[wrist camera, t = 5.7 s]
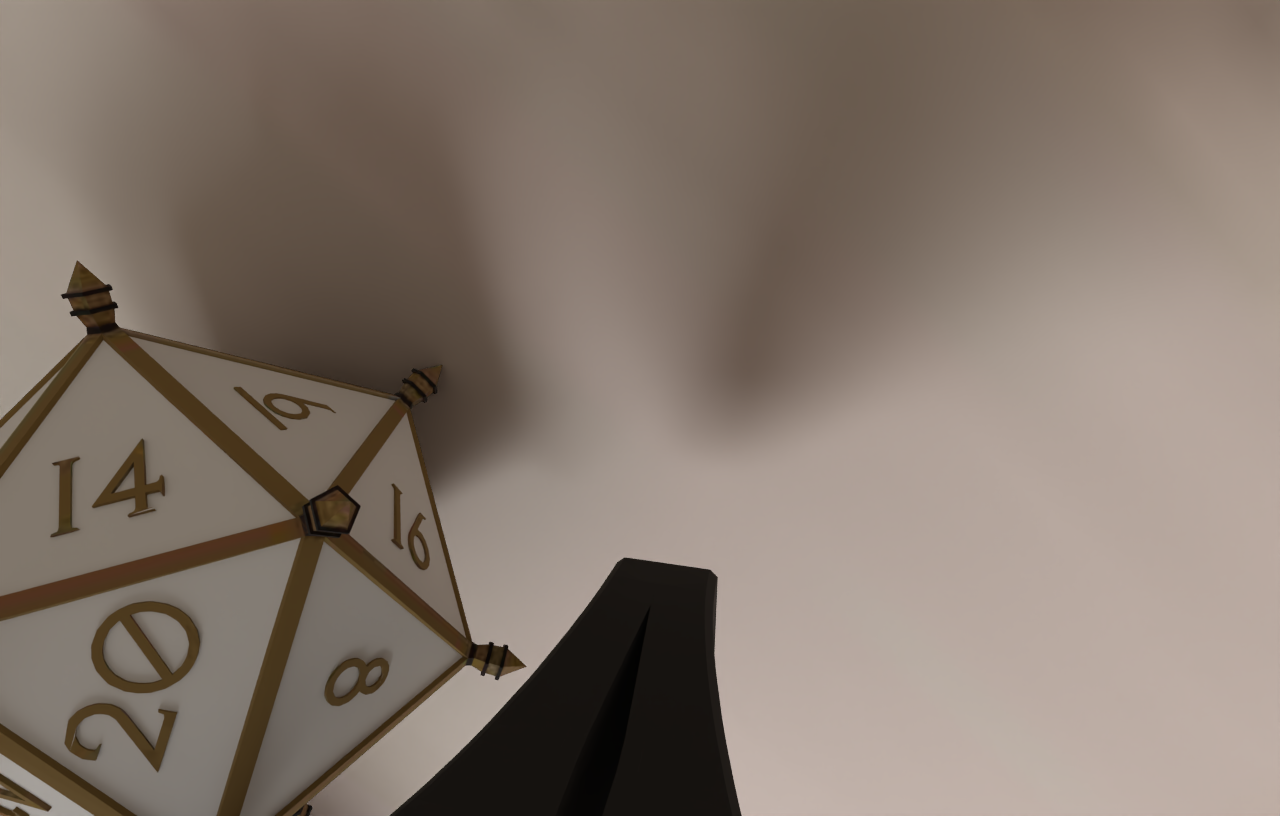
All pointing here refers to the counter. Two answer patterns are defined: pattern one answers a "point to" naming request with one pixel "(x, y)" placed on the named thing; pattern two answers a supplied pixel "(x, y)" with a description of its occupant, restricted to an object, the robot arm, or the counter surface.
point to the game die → (211, 579)
